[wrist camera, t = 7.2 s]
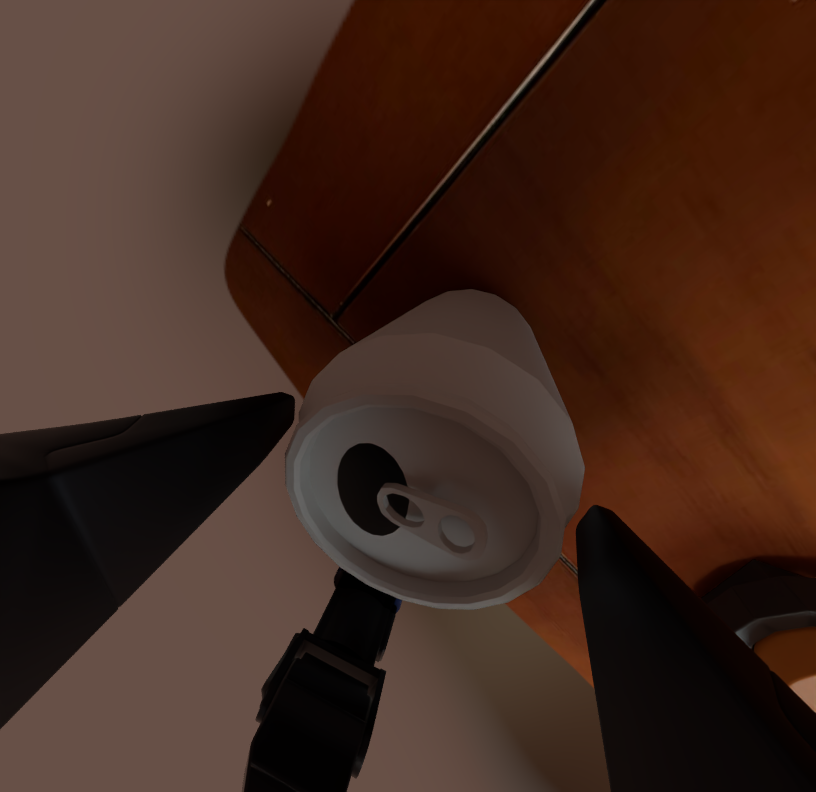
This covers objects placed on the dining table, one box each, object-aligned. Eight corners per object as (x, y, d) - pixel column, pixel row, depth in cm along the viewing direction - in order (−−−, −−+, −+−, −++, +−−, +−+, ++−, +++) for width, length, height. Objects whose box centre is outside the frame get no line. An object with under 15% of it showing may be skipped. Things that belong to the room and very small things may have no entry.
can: (403, 282, 16) (215, 332, 5) (551, 292, 14) (699, 394, 4) (400, 404, 19) (280, 581, 9) (519, 424, 17) (548, 675, 7)
